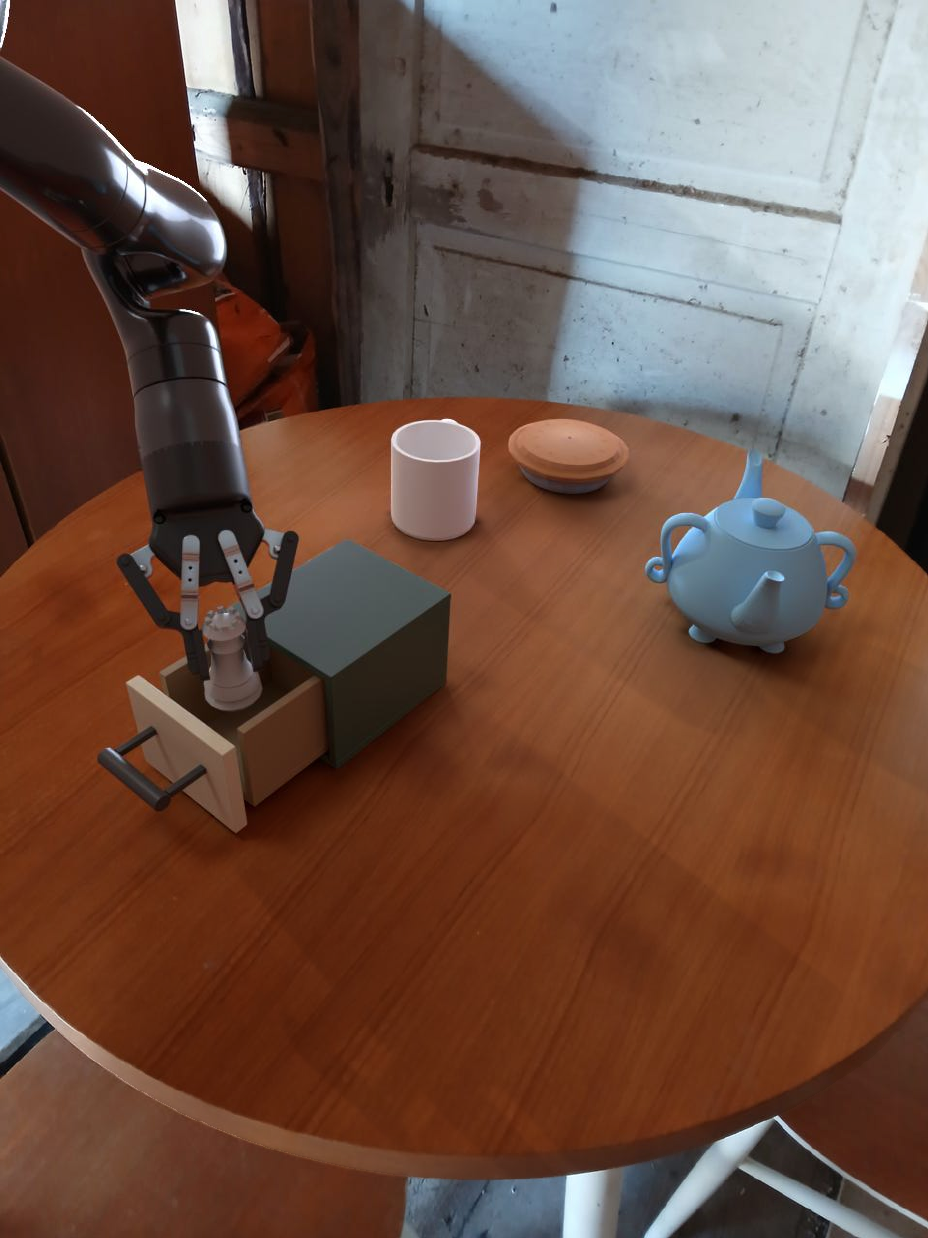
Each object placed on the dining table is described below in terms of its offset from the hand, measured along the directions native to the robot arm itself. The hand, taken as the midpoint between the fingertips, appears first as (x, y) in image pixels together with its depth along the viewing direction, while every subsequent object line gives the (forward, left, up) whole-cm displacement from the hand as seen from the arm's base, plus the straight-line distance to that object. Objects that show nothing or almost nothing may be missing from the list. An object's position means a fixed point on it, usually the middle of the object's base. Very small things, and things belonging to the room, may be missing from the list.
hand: (232, 674), depth 68 cm
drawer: (-1, +1, -11) cm, 11 cm away
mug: (+35, +29, -12) cm, 47 cm away
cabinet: (+12, +6, -12) cm, 17 cm away
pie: (+55, +30, -12) cm, 63 cm away
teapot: (+53, -3, -12) cm, 54 cm away
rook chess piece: (0, +2, -4) cm, 5 cm away
